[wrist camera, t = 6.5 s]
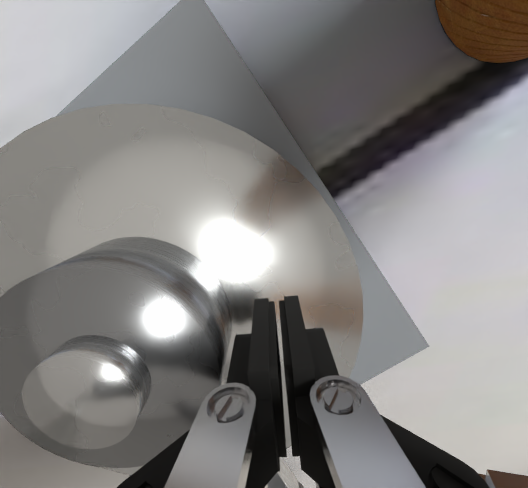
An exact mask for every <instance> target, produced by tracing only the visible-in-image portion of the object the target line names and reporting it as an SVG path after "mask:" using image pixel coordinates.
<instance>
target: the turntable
mask: <svg viewBox="0 0 528 488" xmlns="http://www.w3.org/2000/svg"><path fill="white" fill-rule="evenodd" d="M124 237H146V238H154V239H158V240H162V241H166V242H168V243H171V244H174V245H176V246H178V247H180V248H182V249H184V250H186V251H188V252H189V253H191V254H192V255H194V256H195V257H197V258H198V259H199V260H200V261H202V262H203V263H204V264H205V265H206V266H207V267H208V268H209V269H210V270H211V271H212V272H213V273H214V275H215V276H216V277H217V279H218V280H219V282H220V283H221V285H222V287H223V289H224V291H225V292H226V295H227V298H228V300H229V303H230V308H231V312H232V334H231V339H230V343H229V348H228V353H227V358H226V363H225V368H224V373H223V378H222V383H221V385H224V384H226V382H227V376H228V371H229V366H230V361H231V355H232V350H233V345H234V339H235V335H237V334H249V333H251V330H252V320H253V310H254V300H255V299H261V298H269V301H274V303H275V312H276V322H277V332H278V342H279V352H280V362H281V376H282V391H283V407H284V422H285V438H286V449H287V448H289V447H290V446H291V434H290V424H289V414H288V404H287V393H286V383H285V372H284V360H283V348H282V335H281V323H280V310H279V301H281V300H284V296H296V295H298V298H299V303H300V307H301V311H302V316H303V320H304V325H305V329H311V328H323V329H324V331H325V334H326V337H327V340H328V343H329V346H330V349H331V352H332V355H333V358H334V361H335V364H336V367H337V370H338V373H339V376H344V377H347V378H349V377H350V374H351V372H352V369H353V367H354V365H355V362H356V358H357V354H358V350H359V346H360V343H361V335H362V326H363V294H362V288H361V282H360V277H359V272H358V267H357V264H356V261H355V258H354V255H353V252H352V249H351V246H350V244H349V241H348V239H347V237H346V235H345V233H344V231H343V229H342V227H341V225H340V223H339V221H338V220H337V218H336V216H335V214H334V213H333V212H332V210H331V209H330V207H329V206H328V204H327V203H326V202H325V200H324V199H323V197H322V196H321V195H320V193H319V192H318V191H317V190H316V189H315V188H314V186H313V185H312V184H311V183H310V182H309V181H308V180H307V179H306V178H305V177H304V176H303V175H302V174H301V172H300V171H299V170H298V169H297V168H295V167H294V166H293V165H292V164H290V163H289V162H288V161H287V160H285V159H284V158H283V157H282V156H281V155H279V154H278V153H277V152H276V151H274V150H273V149H272V148H270V147H269V146H267V145H265V144H264V143H262V142H260V141H259V140H257V139H255V138H254V137H252V136H251V135H249V134H247V133H246V132H244V131H242V130H239V129H237V128H235V127H233V126H230V125H228V124H226V123H224V122H221V121H219V120H217V119H214V118H211V117H208V116H204V115H201V114H198V113H194V112H191V111H187V110H184V109H179V108H172V107H165V106H158V105H151V104H110V105H103V106H97V107H90V108H83V109H79V110H76V111H73V112H69V113H66V114H63V115H60V116H56V117H53V118H50V119H48V120H46V121H44V122H42V123H40V124H38V125H36V126H34V127H32V128H30V129H28V130H26V131H24V132H23V133H21V134H20V135H18V136H17V137H16V138H14V139H13V140H11V141H10V142H9V143H7V144H6V145H4V146H3V147H2V148H0V297H1V296H2V295H3V294H4V293H5V292H6V291H7V290H9V289H10V288H12V287H13V286H15V285H16V284H18V283H19V282H21V281H23V280H25V279H27V278H29V277H31V276H34V275H36V274H38V273H40V272H42V271H44V270H46V269H48V268H50V267H52V266H55V265H57V264H59V263H61V262H63V261H65V260H67V259H69V258H71V257H73V256H76V255H78V254H80V253H82V252H84V251H86V250H88V249H90V248H92V247H94V246H97V245H99V244H101V243H103V242H106V241H110V240H113V239H117V238H124ZM141 467H143V466H139V467H131V468H106V467H102V468H105V469H109V470H112V471H116V472H119V473H124V474H129V475H132V474H134V473H135V472H136V471H137V470H139V469H140V468H141ZM268 488H304V487H303V486H302V484H301V483H299V482H298V480H297V479H296V477H295V476H294V474H293V472H292V471H291V469H290V468H289V466H288V464H287V463H286V461H285V460H284V458H283V457H280V471H278V472H277V473H276V474H275V476H274V477H273V478H272V479H271V480H270V481H269V483H268Z"/></svg>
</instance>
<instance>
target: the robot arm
mask: <svg viewBox="0 0 528 488" xmlns="http://www.w3.org/2000/svg"><path fill="white" fill-rule="evenodd" d="M279 310H280V323H281V335H282V348H283V360H284V372H285V383H286V393H287V404H288V414H289V424H290V434H291V445H292V455H293V456H300V461H301V470H303V471H304V472H305V473H306V474H307V475H309V476H310V477H311V478H312V479H313V480H314V481H315V482H316V488H528V476H524V475H518V474H511V473H505V472H499V471H493V470H487V471H486V475H482V474H478V473H477V472H476V471H475V470H474V469H472V468H471V467H469V466H468V465H467V464H465V463H464V462H462V461H461V460H459V459H457V458H455V457H454V456H452V455H450V454H448V453H447V452H445V451H443V450H441V449H440V448H438V447H436V446H434V445H433V444H431V443H429V442H427V441H426V440H424V439H422V438H420V437H419V436H417V435H415V434H413V433H412V432H410V431H408V430H406V429H405V428H403V427H401V426H399V425H397V424H396V423H394V422H392V421H390V420H389V419H387V418H385V417H383V416H382V415H380V414H379V412H378V411H377V409H376V407H375V406H374V404H373V403H372V401H371V400H370V398H369V396H368V395H367V393H366V392H365V390H364V389H363V388H362V387H361V385H360V384H358V383H357V382H355V381H354V380H352V379H350V378H347V377H344V376H339V373H338V370H337V367H336V364H335V361H334V358H333V355H332V352H331V349H330V346H329V343H328V340H327V337H326V334H325V331H324V329H323V328H311V329H305V325H304V320H303V316H302V311H301V307H300V303H299V298H298V295H296V296H284V300H281V301H279ZM280 457H287V453H286V438H285V422H284V407H283V391H282V376H281V362H280V352H279V342H278V332H277V322H276V312H275V303H274V301H269V298H261V299H255V300H254V310H253V320H252V330H251V333H249V334H237V335H235V339H234V345H233V350H232V355H231V361H230V366H229V371H228V376H227V382H226V384H224V385H221V386H219V387H217V388H215V389H213V390H212V391H211V392H210V393H209V394H208V395H207V396H206V397H205V399H204V400H203V402H202V404H201V406H200V409H199V411H198V413H197V415H196V418H195V420H194V422H193V424H192V427H191V429H190V430H188V431H187V432H186V433H185V434H183V435H182V436H181V437H179V438H178V439H177V440H176V441H174V442H173V443H172V444H171V445H169V446H168V447H167V448H165V449H164V450H163V451H162V452H160V453H159V454H158V455H157V456H155V457H154V458H153V459H151V460H150V461H149V462H148V463H146V464H145V465H144V466H143V467H141V468H140V469H139V470H137V471H136V472H135V473H134V474H132V475H131V476H130V477H129V478H127V479H126V480H125V481H123V482H122V483H121V484H120V485H119V486H118V487H117V488H268V483H269V481H270V480H271V479H272V478H273V477H274V476H275V474H276V473H277V472H278V471H280Z"/></svg>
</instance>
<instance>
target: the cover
mask: <svg viewBox="0 0 528 488" xmlns="http://www.w3.org/2000/svg"><path fill="white" fill-rule="evenodd" d="M231 334H232V312H231V308H230V303H229V300H228V298H227V295H226V292H225V291H224V289H223V287H222V285H221V283H220V282H219V280H218V279H217V277H216V276H215V275H214V273H213V272H212V271H211V270H210V269H209V268H208V267H207V266H206V265H205V264H204V263H203V262H202V261H200V260H199V259H198V258H197V257H195V256H194V255H192V254H191V253H189V252H188V251H186V250H184V249H182V248H180V247H178V246H176V245H174V244H171V243H168V242H166V241H162V240H158V239H154V238H146V237H124V238H117V239H113V240H110V241H106V242H103V243H101V244H99V245H97V246H94V247H92V248H90V249H88V250H86V251H84V252H82V253H80V254H78V255H76V256H73V257H71V258H69V259H67V260H65V261H63V262H61V263H59V264H57V265H55V266H52V267H50V268H48V269H46V270H44V271H42V272H40V273H38V274H36V275H34V276H31V277H29V278H27V279H25V280H23V281H21V282H19V283H18V284H16V285H15V286H13V287H12V288H10V289H9V290H7V291H6V292H5V293H4V294H3V295H2V296H1V297H0V412H1V414H2V415H3V416H4V417H5V418H6V419H7V420H8V422H9V423H10V424H11V425H13V426H14V427H15V428H16V429H17V430H18V431H19V432H20V433H21V434H23V435H24V436H25V437H27V438H28V439H29V440H31V441H32V442H34V443H35V444H37V445H39V446H40V447H42V448H44V449H45V450H48V451H50V452H52V453H54V454H56V455H58V456H61V457H63V458H66V459H68V460H71V461H75V462H78V463H82V464H86V465H91V466H97V467H106V468H131V467H139V466H144V465H145V464H146V463H148V462H149V461H150V460H151V459H153V458H154V457H155V456H157V455H158V454H159V453H160V452H162V451H163V450H164V449H165V448H167V447H168V446H169V445H171V444H172V443H173V442H174V441H176V440H177V439H178V438H179V437H181V436H182V435H183V434H185V433H186V432H187V431H188V430H190V429H191V427H192V424H193V422H194V420H195V418H196V415H197V413H198V411H199V409H200V406H201V404H202V402H203V400H204V399H205V397H206V396H207V395H208V394H209V393H210V392H211V391H212V390H213V389H215V388H217V387H219V386H221V383H222V378H223V373H224V368H225V363H226V358H227V353H228V348H229V343H230V339H231Z"/></svg>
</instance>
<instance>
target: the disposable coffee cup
mask: <svg viewBox="0 0 528 488" xmlns="http://www.w3.org/2000/svg"><path fill="white" fill-rule="evenodd" d="M435 3H436V8H437V12H438V15H439V19H440V22H441V24H442V26H443V28H444V30H445V32H446V34H447V36H448V37H449V38H450V39H451V40H452V42H453V43H454V44H455V45H456V47H458V48H459V49H460V50H462V51H463V52H464V53H466V54H467V55H468V56H471V57H473V58H475V59H478V60H480V61H485V62H493V63H504V62H514V61H518V60H521V59H524V58H528V0H435Z"/></svg>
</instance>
